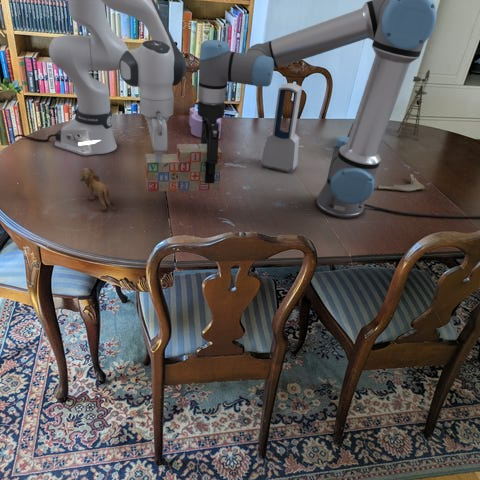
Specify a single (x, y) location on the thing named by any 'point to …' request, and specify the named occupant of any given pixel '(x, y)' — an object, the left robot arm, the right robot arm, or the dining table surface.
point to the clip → (198, 123)
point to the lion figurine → (95, 186)
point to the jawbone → (405, 186)
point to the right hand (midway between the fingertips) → (207, 177)
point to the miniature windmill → (419, 92)
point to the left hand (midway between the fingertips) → (157, 155)
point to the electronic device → (283, 134)
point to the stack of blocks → (181, 170)
